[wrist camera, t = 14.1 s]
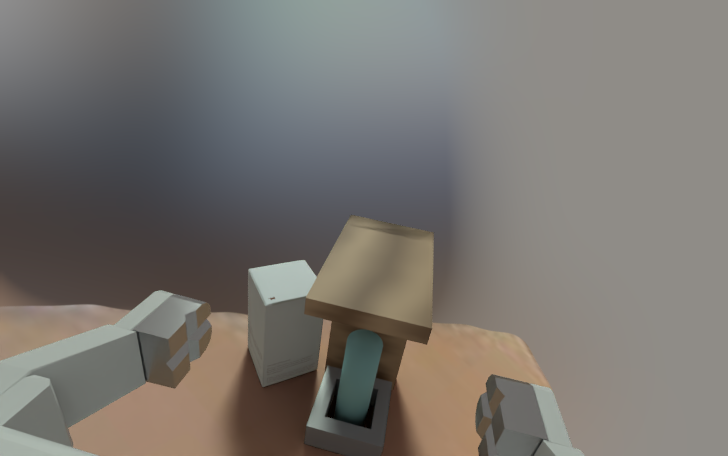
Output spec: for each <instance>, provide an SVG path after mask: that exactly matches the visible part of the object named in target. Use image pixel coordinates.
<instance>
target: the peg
mask: <svg viewBox="0 0 728 456" xmlns="http://www.w3.org/2000/svg"><path fill="white" fill-rule="evenodd" d="M382 349H383V342H382V339H381V338H380V337H379V336H378V335H377V334H376V333H374V332H372V331H370V330H365V329H360V330H355V331H353V332H352V333H350V334H349V336H348V338H347V343H346V349H345V355H344V361H343V366H342V372H341V378H340V384H339V390H338V395H337V401H336V407H335V413H334V419H336V420H339V421H343V422H346V423H350V424H354V425H357V426H361V427H364V425H365V420H366V416H367V412H368V408H369V403H370V399H371V395H372V391H373V387H374V382H375V378H376V374H377V370H378V365H379V361H380V357H381V353H382Z"/></svg>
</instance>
